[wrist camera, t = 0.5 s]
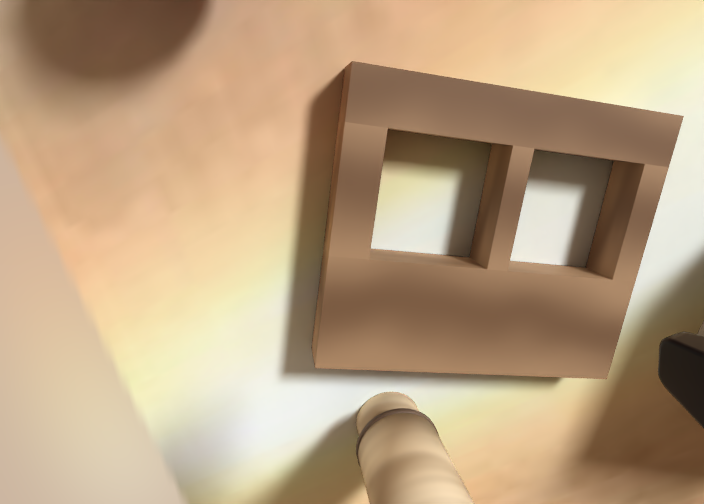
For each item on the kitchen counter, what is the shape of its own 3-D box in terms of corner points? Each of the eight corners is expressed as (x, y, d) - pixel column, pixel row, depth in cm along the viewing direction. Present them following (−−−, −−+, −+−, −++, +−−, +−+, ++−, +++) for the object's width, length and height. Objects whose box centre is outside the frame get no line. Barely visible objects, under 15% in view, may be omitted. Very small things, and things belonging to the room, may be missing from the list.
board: (582, 359, 25) (606, 379, 24) (311, 347, 23) (315, 368, 21) (648, 117, 22) (683, 116, 20) (344, 67, 20) (352, 61, 18)
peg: (418, 453, 25) (479, 594, 18) (345, 453, 25) (376, 599, 17) (430, 387, 24) (502, 505, 17) (354, 384, 24) (393, 507, 16)
